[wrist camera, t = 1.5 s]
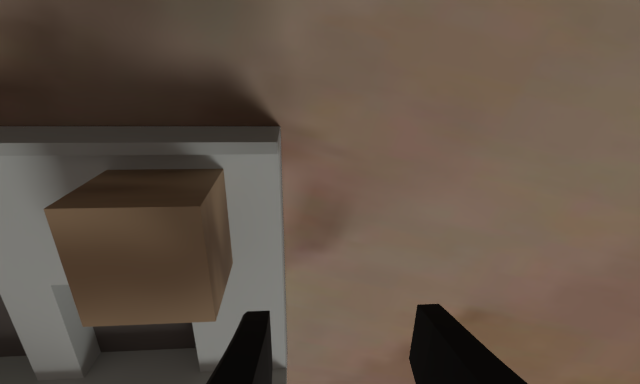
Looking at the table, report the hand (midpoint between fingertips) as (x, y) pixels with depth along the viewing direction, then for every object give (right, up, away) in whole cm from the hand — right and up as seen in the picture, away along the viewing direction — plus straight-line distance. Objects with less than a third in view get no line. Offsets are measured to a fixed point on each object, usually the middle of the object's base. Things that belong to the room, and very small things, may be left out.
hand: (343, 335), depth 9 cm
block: (-7, +3, +6) cm, 10 cm away
